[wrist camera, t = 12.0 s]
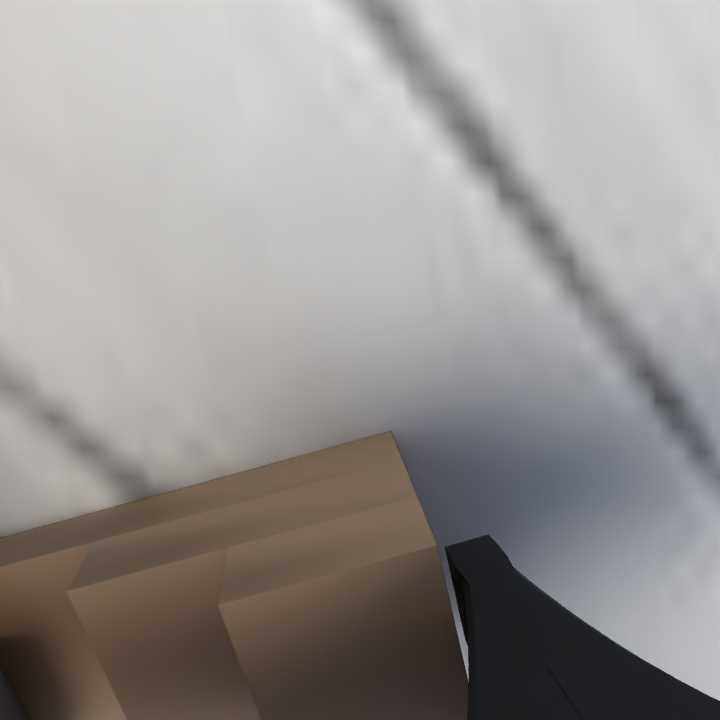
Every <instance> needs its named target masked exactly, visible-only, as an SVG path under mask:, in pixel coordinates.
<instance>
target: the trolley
mask: <svg viewBox="0 0 720 720" xmlns="http://www.w3.org/2000/svg"><path fill="white" fill-rule="evenodd" d="M0 720H28V718H27V716H26V714H25V712H24V711H23V709H22V707H21V705H20V703H19V701H18V699H17V698H16V696H15V694H14V692H13V690H12V688H11V686H10V685H9V683H8V681H7V679H6V677H5V675H4V673H3V672H2V670H1V668H0Z"/></svg>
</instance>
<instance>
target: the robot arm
mask: <svg viewBox="0 0 720 720" xmlns="http://www.w3.org/2000/svg"><path fill="white" fill-rule="evenodd" d="M445 550H446V555H447V559H448V564H449V568H450V573H451V577H452V582H453V586H454V591H455V595H456V600H457V604H458V609H459V613H460V618H461V622H462V627H463V631H464V636H465V640H466V642H467V645H468V664H469V687H468V712H467V720H720V701H718V700H716V699H714V698H712V697H710V696H708V695H706V694H704V693H702V692H700V691H699V690H697V689H695V688H693V687H691V686H689V685H687V684H685V683H683V682H682V681H680V680H678V679H676V678H674V677H672V676H671V675H669V674H667V673H665V672H664V671H662V670H660V669H658V668H657V667H655V666H653V665H651V664H650V663H648V662H646V661H644V660H643V659H641V658H640V657H638V656H636V655H635V654H633V653H631V652H630V651H628V650H626V649H625V648H623V647H622V646H620V645H619V644H617V643H615V642H614V641H612V640H611V639H609V638H608V637H606V636H605V635H603V634H602V633H600V632H599V631H597V630H596V629H594V628H593V627H591V626H590V625H588V624H587V623H585V622H584V621H583V620H581V619H580V618H578V617H577V616H576V615H574V614H573V613H571V612H570V611H569V610H567V609H566V608H565V607H563V606H562V605H561V604H559V603H558V602H557V601H555V600H554V599H553V598H551V597H550V596H549V595H547V594H546V593H545V592H543V591H542V590H541V589H539V588H538V587H537V586H536V585H534V584H533V583H532V582H531V581H529V580H528V579H527V578H526V577H525V576H523V575H522V574H521V573H520V572H519V571H517V570H516V569H515V568H514V567H513V566H512V564H511V563H510V561H509V559H508V557H507V556H506V554H505V553H504V552H503V551H502V549H501V548H500V547H499V546H498V545H497V543H496V542H495V541H494V540H493V539H492V538H491V537H490V536H489V535H486V536H482V537H479V538H475V539H471V540H468V541H464V542H461V543H457V544H454V545H450V546H447V547H445Z"/></svg>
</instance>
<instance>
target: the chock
mask: <svg viewBox="0 0 720 720" xmlns="http://www.w3.org/2000/svg"><path fill="white" fill-rule="evenodd" d="M0 668H1V670H2V672H3V673H4V675H5V677H6V679H7V681H8V683H9V685H10V686H11V688H12V690H13V692H14V694H15V696H16V698H17V699H18V701H19V703H20V705H21V707H22V709H23V711H24V712H25V714H26V716H27V718H28V720H467V712H468V687H469V683H468V678H467V674H466V670H465V665H464V661H463V656H462V652H461V648H460V643H459V639H458V635H457V630H456V626H455V621H454V617H453V613H452V608H451V604H450V600H449V595H448V591H447V586H446V582H445V578H444V573H443V569H442V564H441V560H440V556H439V551H438V547H437V544H436V541H435V539H434V536H433V534H432V531H431V529H430V526H429V524H428V522H427V519H426V517H425V514H424V512H423V509H422V507H421V504H420V502H419V499H418V497H417V495H416V492H415V490H414V487H413V485H412V482H411V480H410V477H409V475H408V472H407V470H406V467H405V465H404V463H403V460H402V458H401V455H400V453H399V450H398V448H397V445H396V443H395V440H394V438H393V435H392V433H391V431H389V432H385V433H382V434H378V435H374V436H371V437H367V438H363V439H360V440H356V441H352V442H349V443H345V444H342V445H338V446H334V447H331V448H327V449H323V450H320V451H316V452H312V453H309V454H305V455H301V456H298V457H294V458H290V459H287V460H283V461H279V462H276V463H272V464H268V465H265V466H261V467H257V468H254V469H250V470H247V471H243V472H239V473H236V474H232V475H228V476H225V477H221V478H217V479H214V480H210V481H206V482H203V483H199V484H195V485H192V486H188V487H184V488H181V489H177V490H173V491H170V492H166V493H162V494H159V495H155V496H152V497H148V498H144V499H141V500H137V501H133V502H130V503H126V504H122V505H119V506H115V507H111V508H108V509H104V510H100V511H97V512H93V513H89V514H86V515H82V516H78V517H75V518H71V519H67V520H64V521H60V522H57V523H53V524H49V525H46V526H42V527H38V528H35V529H31V530H27V531H24V532H20V533H16V534H13V535H9V536H5V537H2V538H0Z"/></svg>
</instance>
